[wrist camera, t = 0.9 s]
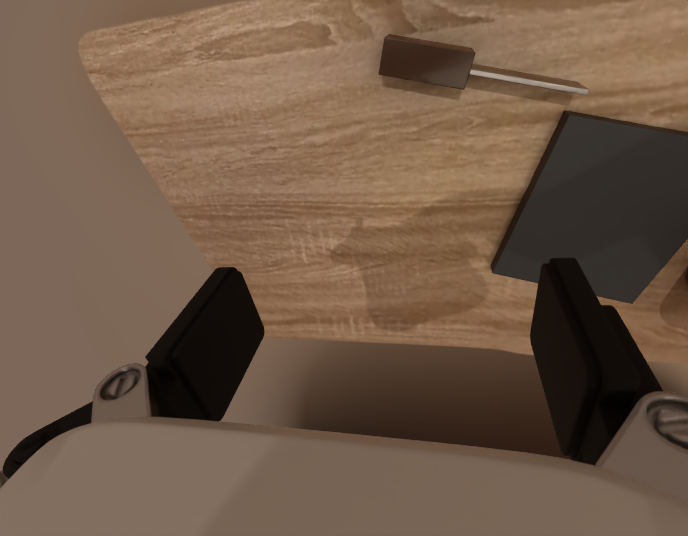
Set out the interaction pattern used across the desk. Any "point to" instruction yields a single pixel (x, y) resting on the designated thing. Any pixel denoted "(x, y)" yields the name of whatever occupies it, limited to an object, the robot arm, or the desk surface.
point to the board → (602, 205)
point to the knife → (452, 66)
